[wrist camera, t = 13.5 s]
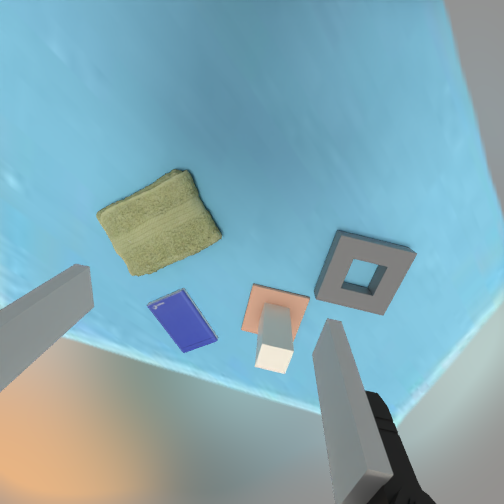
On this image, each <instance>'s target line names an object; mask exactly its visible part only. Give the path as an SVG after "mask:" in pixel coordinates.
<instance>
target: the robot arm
mask: <svg viewBox="0 0 504 504" xmlns="http://www.w3.org/2000/svg"><path fill="white" fill-rule="evenodd" d="M93 307H94V302H93V293H92V285H91V276H90V267H89V266H84V265H79V264H74V265H73V266H71V267H70V268H68V269H66V270H65V271H63V272H61V273H60V274H58V275H57V276H55V277H53V278H52V279H50V280H48V281H47V282H45V283H44V284H42V285H40V286H39V287H37V288H35V289H34V290H32V291H31V292H29V293H27V294H26V295H24V296H22V297H21V298H19V299H18V300H16V301H14V302H13V303H11V304H9V305H8V306H6V307H5V308H3V309H1V310H0V392H1V391H2V390H3V389H4V388H5V387H6V386H7V385H9V384H10V383H11V382H12V381H13V380H14V379H15V378H16V377H17V376H18V375H20V374H21V373H22V372H23V371H24V370H25V369H26V368H27V367H28V366H29V365H30V364H32V363H33V362H34V361H35V360H36V359H37V358H38V357H39V356H40V355H41V354H43V353H44V352H45V351H46V350H47V349H48V348H49V347H50V346H51V345H53V344H54V343H55V342H56V341H57V340H58V339H59V338H60V337H61V336H63V335H64V334H65V333H66V332H67V331H68V330H69V329H70V328H71V327H72V326H74V325H75V324H76V323H77V322H78V321H79V320H80V319H81V318H82V317H83V316H85V315H86V314H87V313H88V312H89V311H90V310H91V309H92V308H93ZM312 356H313V363H314V369H315V376H316V382H317V389H318V395H319V402H320V408H321V415H322V421H323V428H324V434H325V441H326V447H327V453H328V459H329V466H330V473H331V479H332V486H333V492H334V498H335V504H436V503H435V502H434V501H433V500H432V499H431V497H430V496H429V495H428V494H427V493H425V492H424V491H422V489H421V487H420V485H419V483H418V481H417V479H416V476H415V474H414V471H413V468H412V466H411V464H410V461H409V459H408V456H407V454H406V451H405V449H404V446H403V444H402V441H401V439H400V437H399V435H398V431H397V429H396V426H395V424H394V423H393V419H392V417H391V414H390V412H389V409H388V407H387V405H386V404H385V403H384V401H383V400H382V398H381V397H380V396H379V394H378V393H374V392H370V391H365V390H364V387H363V384H362V381H361V378H360V375H359V372H358V369H357V366H356V363H355V360H354V357H353V354H352V352H351V349H350V346H349V343H348V340H347V337H346V334H345V331H344V328H343V325H342V322H341V321H337V320H333V319H328V318H327V320H326V322H325V325H324V327H323V330H322V332H321V334H320V337H319V339H318V342H317V344H316V347H315V349H314V351H313V354H312Z"/></svg>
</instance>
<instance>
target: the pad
mask: <svg viewBox="0 0 504 504" xmlns="http://www.w3.org/2000/svg"><path fill="white" fill-rule="evenodd" d="M309 300H310V298H309V297H307V296H303V295H299V294H295V293H291V292H286V291H282V290H278V289H274V288H270V287H266V286H261V285H257V284H253V287H252V291H251V294H250V298H249V302H248V306H247V309H246V313H245V317H244V321H243V324H242V328H241V330H243V331H247V332H252V333H256V334H258V326H259V320H260V316H261V313H262V310H263V306H264V303H265V302H266V303H270V304H275V305H279V306H283V307H287V308H290V317H291V328H292V338H293V341H294V339H295V336H296V333H297V331H298V328H299V326H300V323H301V320H302V318H303V315H304V313H305V310H306V307H307V305H308V302H309Z"/></svg>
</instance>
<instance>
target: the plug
mask: <svg viewBox="0 0 504 504" xmlns="http://www.w3.org/2000/svg"><path fill="white" fill-rule="evenodd" d="M293 352H294V349H293V338H292V328H291V317H290V308H287V307H283V306H279V305H275V304H270V303H266V302H265V303H264V306H263V310H262V313H261V316H260V320H259V326H258V337H257V348H256V359H255V367H258V368H262V369H266V370H271V371H275V372H279V373H283V374H285V372H286V370H287V367H288V365H289V362H290V360H291V357H292V354H293Z"/></svg>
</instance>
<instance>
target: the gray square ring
mask: <svg viewBox="0 0 504 504" xmlns="http://www.w3.org/2000/svg"><path fill="white" fill-rule="evenodd" d="M416 255H417V253H415V252H414V251H413V250H411V249H410V248H409V247H405V246H401V245H397V244H393V243H388V242H384V241H380V240H376V239H372V238H368V237H364V236H360V235H356V234H352V233H347V232H343V231H339V230H337V232H336V235H335V237H334V240H333V242H332V245H331V248H330V250H329V253H328V255H327V258H326V261H325V263H324V266H323V268H322V271H321V274H320V276H319V279H318V281H317V284H316V286H315V289H314V294H315V298H316V299H317V300H321V301H325V302H329V303H334V304H338V305H342V306H346V307H350V308H354V309H358V310H363V311H367V312H371V313H375V314H379V315H384V313H385V311H386V310H387V308H388V306H389V304H390V302H391V300H392V299H393V297H394V295H395V293H396V291H397V290H398V288H399V286H400V284H401V282H402V280H403V279H404V277H405V275H406V273H407V271H408V270H409V268H410V266H411V264H412V262H413V260H414V259H415V257H416ZM353 259H357V260H361V261H366V262H370V263H374V264H378V265H379V266H378V268H377V270H376V272H375V274H374V276H373V278H372V280H371V282H370V284H369V286H368V288H366V287H362V286H358V285H354V284H350V283H346V282H344V279H345V277H346V275H347V272H348V270H349V268H350V266H351V263H352V261H353Z"/></svg>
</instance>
